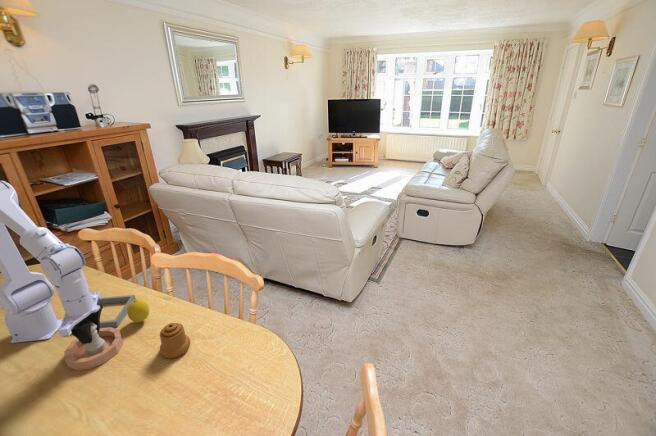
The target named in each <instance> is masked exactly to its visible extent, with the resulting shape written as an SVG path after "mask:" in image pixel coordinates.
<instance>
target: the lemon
mask: <svg viewBox="0 0 656 436" xmlns="http://www.w3.org/2000/svg"><path fill="white" fill-rule="evenodd" d="M126 315H127V316H128V318H129V319H130V320H131V321H132V322H135V323H142V322H143V321H145V320H146V319H147V318H148V317H149V315H150V307H149V305H148V303H147V301H146V300H145V299H139V298H138V299H137V298H136V299H135V300H134V301H132V302H131V303H130V304H129V305H128V308H127V314H126Z"/></svg>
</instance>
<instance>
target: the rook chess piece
mask: <svg viewBox="0 0 656 436" xmlns="http://www.w3.org/2000/svg"><path fill="white" fill-rule="evenodd" d="M96 328H97V325H95V324H94V323H91V335H92V342H91V343H87V344H86V348H85V350H86V353H87V354H90V355H95V354H98V353H100V352H101V351H103V350H104V348H105V347H106V343H105V341H104V340H103V339H102V338H100V337H99V336H98V334H97V330H96Z"/></svg>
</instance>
